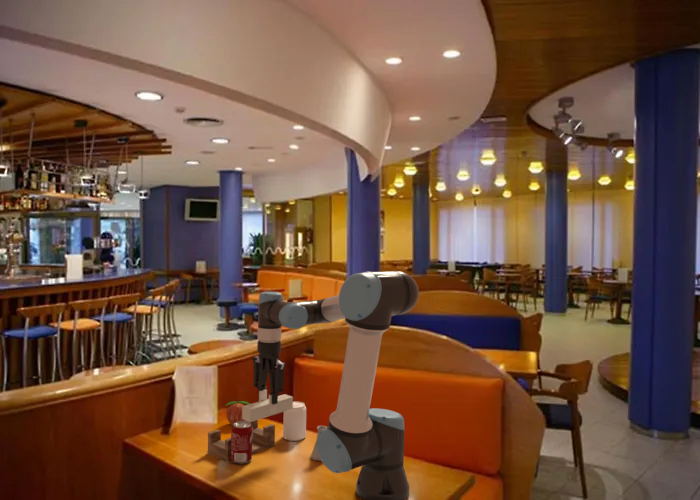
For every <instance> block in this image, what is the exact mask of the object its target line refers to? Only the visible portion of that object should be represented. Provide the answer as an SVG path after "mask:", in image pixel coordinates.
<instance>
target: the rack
mask: <svg viewBox="0 0 700 500" xmlns="http://www.w3.org/2000/svg"><path fill="white" fill-rule="evenodd" d="M258 421H259V420H256V421H253V422H250V423H251V427H252V428H253V441H252V455H253V454H256V453H258V451H259V452H261V451H263V450H267V449H268V448H272V447H274V446H276V440H275V439H276V425H275V424H268V425H265V426H263V427H262V428H260V427H259V426H258V424H259V422H258ZM221 432H222V430H220V429H215V430H213V431H209V432H208V433H207V452H206V453H207V454H208V455H210V456H212V457H215V458H216V459H218V460H221V461H223V462H225V463H227V464H229V463H231V462H232V461H231V460H230V454H231V437H229V438H226V439H224V440H222V438H221V437H222V433H221ZM266 448H267V449H266ZM232 463H233V462H232Z"/></svg>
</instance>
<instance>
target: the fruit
mask: <svg viewBox="0 0 700 500" xmlns="http://www.w3.org/2000/svg"><path fill="white" fill-rule="evenodd" d="M249 404H251V403H249V401H244V400H241V401H240V398H237V401H235V400H234V401H230V402H228V403H226V404H225V405H224V406H226V407H227V406H228V408H227V411H226V418H227V422H228V423H229V424H230V425H231V426H234V423H235V422H238V421H246V420H244V419H242V406H245V405H249Z"/></svg>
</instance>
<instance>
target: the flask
mask: <svg viewBox="0 0 700 500" xmlns="http://www.w3.org/2000/svg"><path fill="white" fill-rule="evenodd" d="M327 428H328V426H325V425H317V427H316V430H317V435H316V437H317V436H318V434H319V432H320V431H322V430H323V429H327ZM310 459H312V460H314V461H315V462H316V461H319V462H322V460H321V458H320V456H319V453H318V450H317V439H315V443H314V445H313V449H312V452H311V454H310Z"/></svg>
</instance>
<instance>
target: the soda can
mask: <svg viewBox="0 0 700 500" xmlns="http://www.w3.org/2000/svg"><path fill="white" fill-rule="evenodd" d="M232 426H233V425H232ZM230 438H231V454H230V460H231V461H232V463H234V464H237V465H244V463H245V464H247V463H248V462H251V461H252V459H253V454H252V441H253V428H252V427H251V423H250V422H248V421H238V422H235V423H234V426H233V427H232V428H231V435H230Z"/></svg>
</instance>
